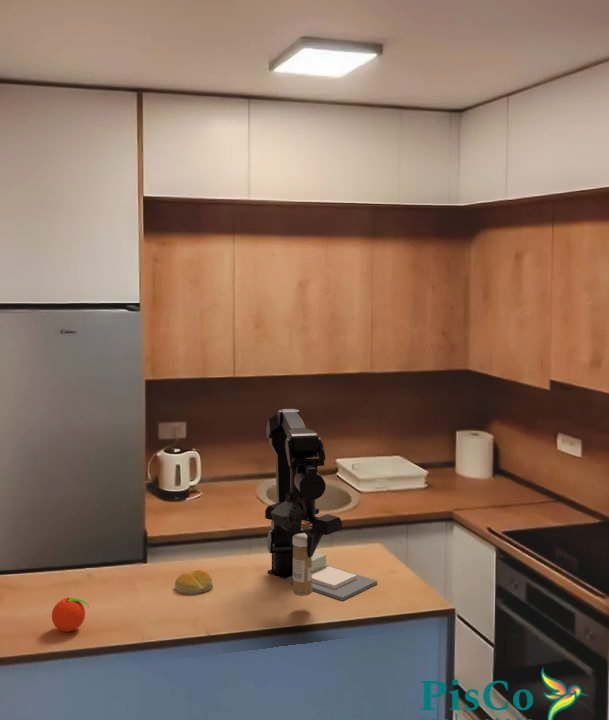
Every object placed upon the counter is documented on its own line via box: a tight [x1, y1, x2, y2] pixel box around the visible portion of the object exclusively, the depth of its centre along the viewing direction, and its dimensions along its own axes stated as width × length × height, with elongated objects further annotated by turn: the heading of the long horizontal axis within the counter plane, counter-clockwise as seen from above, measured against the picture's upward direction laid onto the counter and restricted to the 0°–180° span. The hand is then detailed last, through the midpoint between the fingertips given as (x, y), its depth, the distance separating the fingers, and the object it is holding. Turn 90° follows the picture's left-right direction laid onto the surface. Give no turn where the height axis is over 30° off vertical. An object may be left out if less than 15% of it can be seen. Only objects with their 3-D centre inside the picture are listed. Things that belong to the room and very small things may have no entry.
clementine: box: [51, 597, 90, 633], centre depth 173 cm, size 8×7×7 cm
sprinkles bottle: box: [292, 532, 313, 597], centre depth 184 cm, size 5×5×14 cm
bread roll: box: [174, 570, 214, 595], centre depth 197 cm, size 8×9×4 cm
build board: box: [285, 552, 378, 601], centre depth 201 cm, size 18×14×5 cm
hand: (302, 554), depth 184 cm, fingers closed on sprinkles bottle, 4 cm apart
